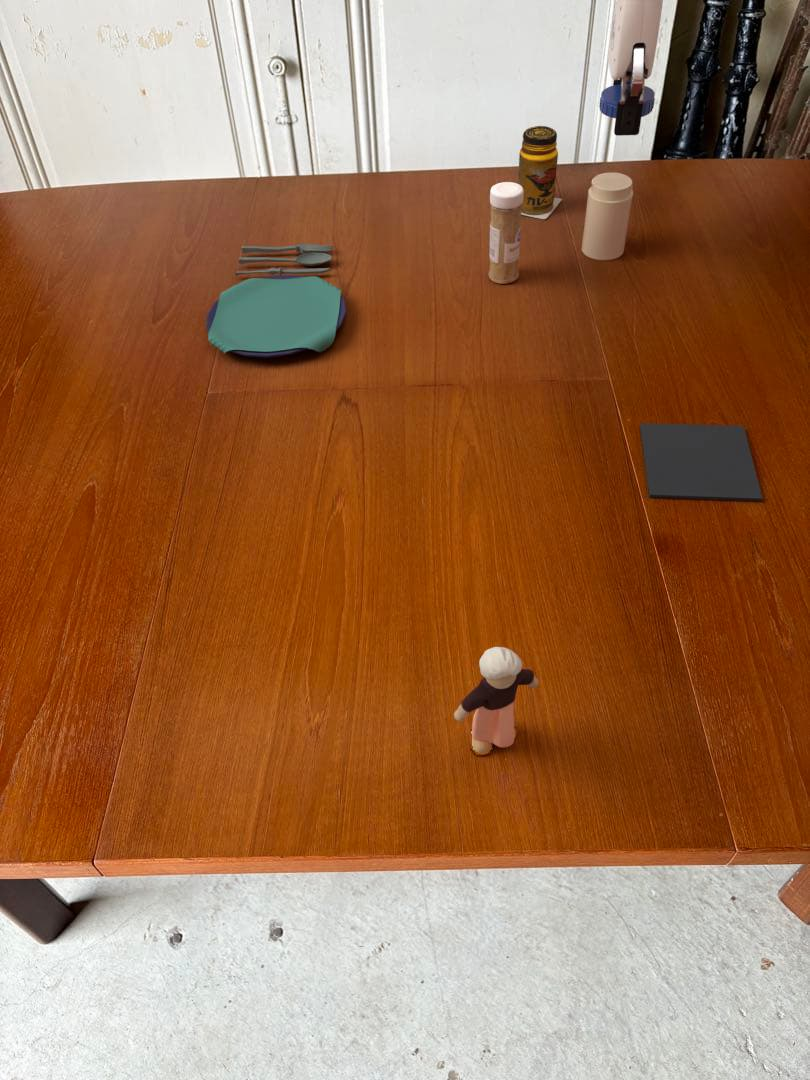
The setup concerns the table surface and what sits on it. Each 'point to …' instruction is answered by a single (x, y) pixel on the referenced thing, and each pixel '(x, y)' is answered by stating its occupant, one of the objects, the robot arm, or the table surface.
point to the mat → (699, 462)
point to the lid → (612, 98)
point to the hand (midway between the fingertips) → (624, 121)
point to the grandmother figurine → (495, 699)
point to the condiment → (538, 171)
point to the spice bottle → (505, 231)
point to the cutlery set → (278, 307)
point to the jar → (607, 216)
